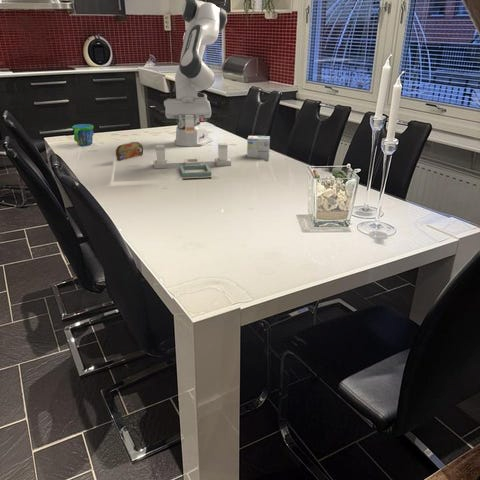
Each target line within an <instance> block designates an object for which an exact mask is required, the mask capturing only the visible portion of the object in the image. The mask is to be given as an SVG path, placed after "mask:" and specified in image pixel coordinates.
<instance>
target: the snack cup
mask: <svg viewBox="0 0 480 480" xmlns="http://www.w3.org/2000/svg"><path fill="white" fill-rule="evenodd" d="M71 127H72V131H73V132H74V133H73V134H74V135H73V140H74V142H76V143H77V145H78V146H80V147H87V146H88V147H89V146H91V145H93V141H94V140H93V137H94V134H95V133H94V128H95V127H94V125H93V124H89V123H80V124H74V125H73V126H71Z"/></svg>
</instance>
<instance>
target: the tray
mask: <svg viewBox="0 0 480 480" xmlns="http://www.w3.org/2000/svg"><path fill="white" fill-rule="evenodd" d="M179 169H180V173H181V175H182V177H183V178H182V181H194V180H195V181H196V180H199V181H200V180H212V170H211V169H210V167H208V165H184V166H180V168H179ZM186 170H206V171H192V172H189V171H188V172H185V171H186Z"/></svg>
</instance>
